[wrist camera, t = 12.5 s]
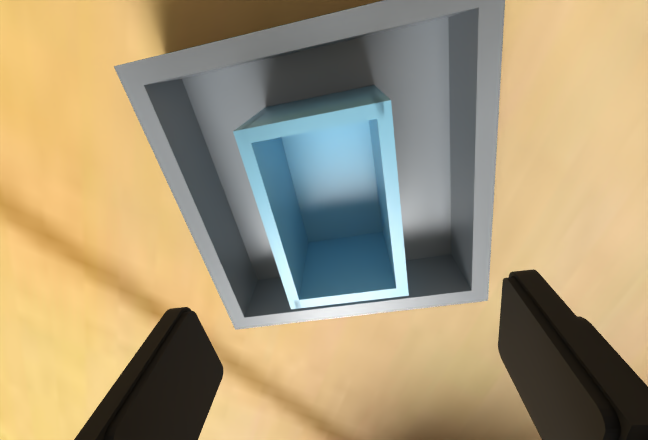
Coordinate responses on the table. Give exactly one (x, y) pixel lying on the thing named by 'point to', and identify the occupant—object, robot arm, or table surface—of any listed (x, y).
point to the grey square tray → (321, 79)
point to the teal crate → (329, 196)
